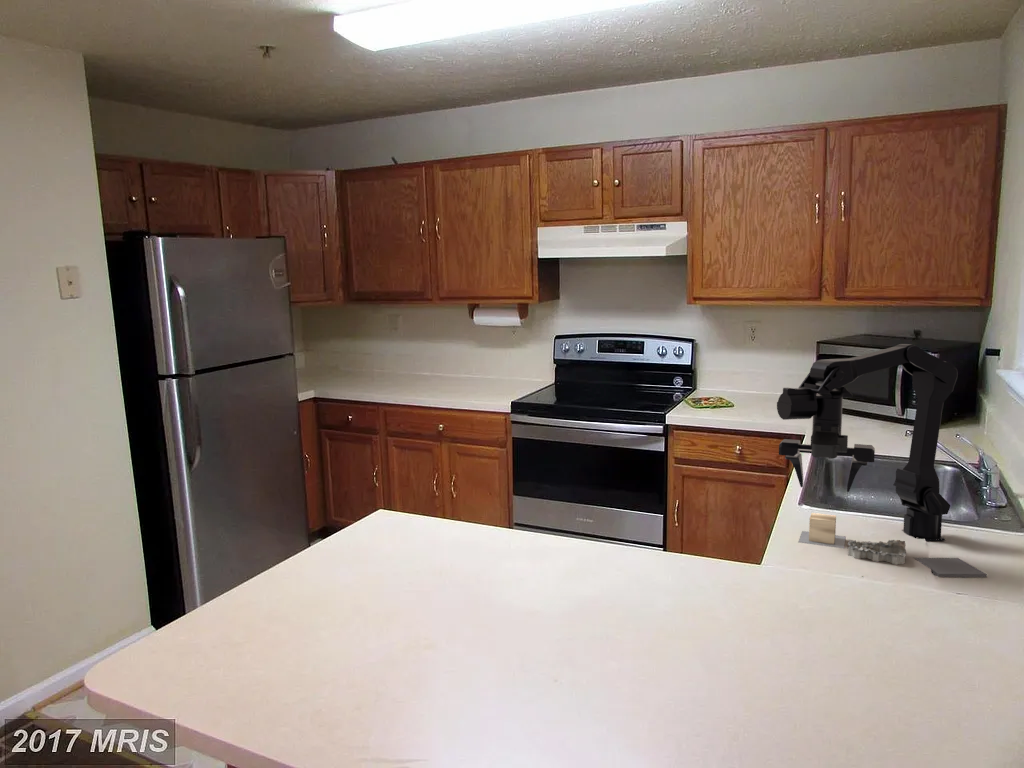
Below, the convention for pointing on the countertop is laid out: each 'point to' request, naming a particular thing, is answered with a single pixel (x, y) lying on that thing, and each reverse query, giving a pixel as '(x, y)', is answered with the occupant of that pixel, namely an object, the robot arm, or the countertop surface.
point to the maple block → (822, 528)
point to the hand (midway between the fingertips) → (824, 489)
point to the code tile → (838, 543)
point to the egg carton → (879, 551)
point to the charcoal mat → (951, 567)
